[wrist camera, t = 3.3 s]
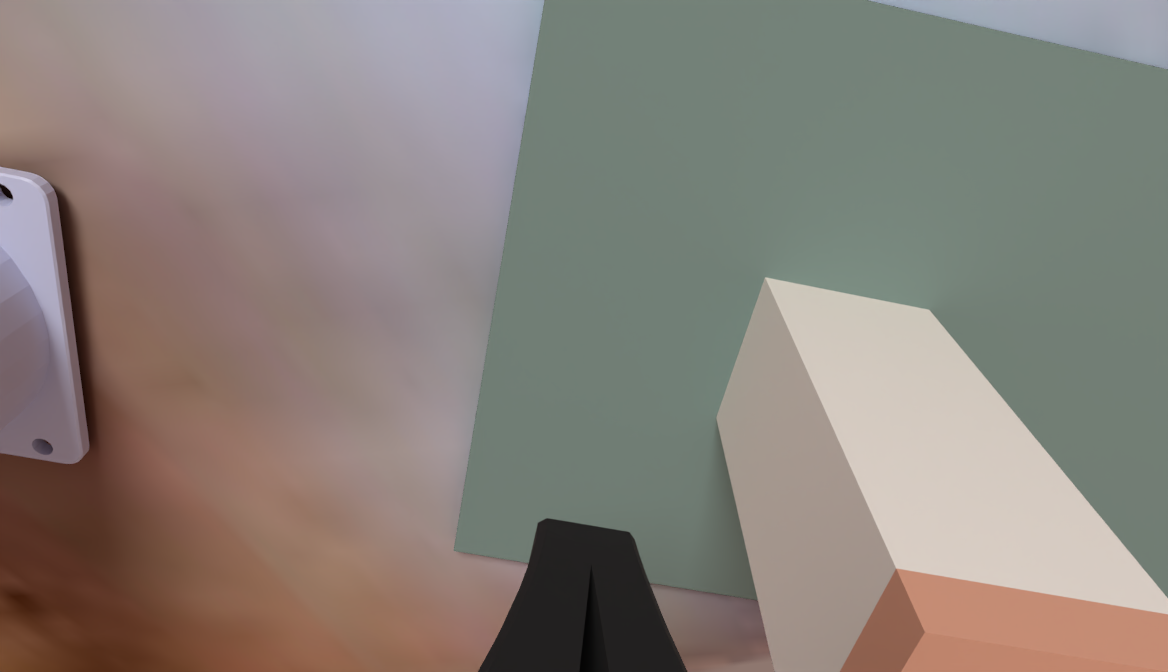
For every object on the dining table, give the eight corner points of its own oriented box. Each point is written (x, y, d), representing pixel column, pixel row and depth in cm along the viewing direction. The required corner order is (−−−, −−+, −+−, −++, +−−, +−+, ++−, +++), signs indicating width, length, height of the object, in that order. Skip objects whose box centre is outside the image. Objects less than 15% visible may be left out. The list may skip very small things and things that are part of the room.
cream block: (716, 418, 20) (808, 824, 11) (764, 277, 18) (925, 632, 9) (865, 444, 20) (1072, 860, 11) (929, 309, 18) (1237, 682, 9)
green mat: (455, 540, 22) (453, 550, 22) (557, -72, 15) (556, -72, 14) (1155, 655, 24) (1163, 666, 24) (1566, 161, 17) (1586, 166, 16)
